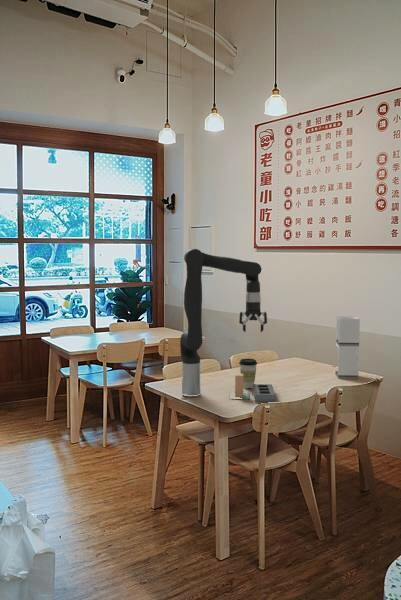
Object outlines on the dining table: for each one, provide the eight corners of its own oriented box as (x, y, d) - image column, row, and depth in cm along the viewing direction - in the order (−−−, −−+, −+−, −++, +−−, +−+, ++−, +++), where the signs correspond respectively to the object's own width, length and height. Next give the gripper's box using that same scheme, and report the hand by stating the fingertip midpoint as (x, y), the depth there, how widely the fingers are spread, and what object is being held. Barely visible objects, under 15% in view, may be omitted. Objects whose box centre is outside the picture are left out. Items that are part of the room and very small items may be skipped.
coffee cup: (242, 390, 285) (242, 362, 283) (236, 385, 294) (236, 358, 293) (259, 388, 287) (260, 361, 286) (253, 384, 297) (253, 357, 295)
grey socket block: (255, 402, 262) (255, 394, 262) (252, 391, 282) (252, 384, 281) (275, 402, 262) (275, 394, 261) (271, 391, 281) (271, 384, 281)
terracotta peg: (235, 396, 270) (235, 375, 269) (235, 394, 274) (235, 373, 273) (243, 397, 270) (243, 375, 269) (243, 394, 274) (243, 373, 273)
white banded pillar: (354, 374, 318) (356, 316, 315) (358, 379, 308) (359, 318, 304) (335, 374, 319) (336, 316, 316) (338, 378, 309) (339, 318, 305)
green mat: (229, 399, 267) (229, 398, 267) (229, 394, 277) (229, 393, 277) (249, 399, 267) (249, 398, 267) (248, 394, 277) (248, 393, 277)
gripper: (266, 300, 280) (266, 330, 281) (239, 300, 280) (239, 330, 282) (267, 301, 272) (267, 333, 274) (239, 301, 273) (239, 333, 274)
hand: (253, 331), depth 278 cm, fingers open, 8 cm apart
